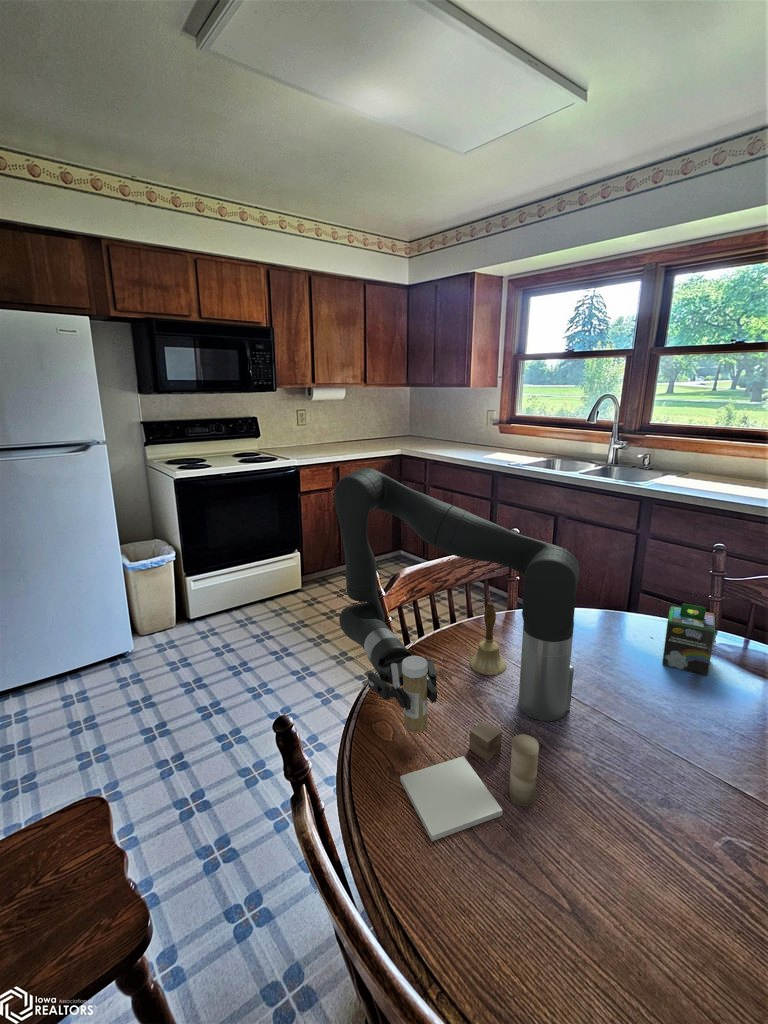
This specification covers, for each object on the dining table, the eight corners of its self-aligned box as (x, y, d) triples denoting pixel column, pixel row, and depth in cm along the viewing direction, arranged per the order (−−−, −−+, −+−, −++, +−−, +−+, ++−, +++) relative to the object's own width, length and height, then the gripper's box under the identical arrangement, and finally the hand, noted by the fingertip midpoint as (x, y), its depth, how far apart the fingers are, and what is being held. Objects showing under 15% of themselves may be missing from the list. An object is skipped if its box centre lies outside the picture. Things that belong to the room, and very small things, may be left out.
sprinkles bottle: (433, 727, 91) (432, 663, 87) (413, 738, 88) (411, 671, 85) (418, 714, 94) (417, 651, 91) (398, 724, 92) (396, 660, 88)
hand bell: (511, 673, 112) (515, 609, 108) (476, 677, 111) (478, 612, 107) (498, 654, 120) (501, 593, 116) (465, 657, 119) (466, 596, 114)
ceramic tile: (463, 760, 87) (463, 756, 87) (502, 815, 76) (502, 810, 76) (400, 780, 83) (400, 775, 83) (431, 841, 72) (431, 835, 72)
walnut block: (483, 738, 92) (484, 720, 91) (500, 750, 89) (502, 731, 88) (469, 749, 90) (469, 730, 89) (486, 761, 87) (487, 742, 86)
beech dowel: (524, 782, 82) (528, 731, 79) (540, 801, 78) (544, 748, 76) (504, 790, 81) (507, 738, 78) (518, 809, 77) (522, 755, 74)
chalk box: (708, 657, 117) (718, 600, 113) (708, 677, 109) (719, 616, 105) (663, 647, 121) (672, 591, 118) (660, 665, 114) (669, 606, 110)
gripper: (353, 644, 99) (383, 693, 83) (418, 629, 104) (458, 673, 88) (354, 677, 101) (384, 731, 85) (418, 661, 106) (457, 709, 90)
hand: (421, 701), depth 87 cm, fingers closed on sprinkles bottle, 4 cm apart
